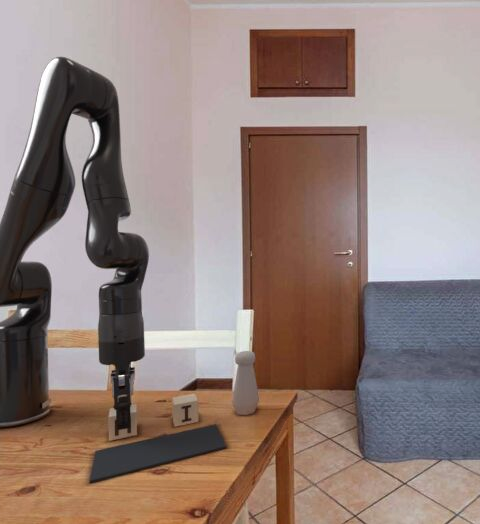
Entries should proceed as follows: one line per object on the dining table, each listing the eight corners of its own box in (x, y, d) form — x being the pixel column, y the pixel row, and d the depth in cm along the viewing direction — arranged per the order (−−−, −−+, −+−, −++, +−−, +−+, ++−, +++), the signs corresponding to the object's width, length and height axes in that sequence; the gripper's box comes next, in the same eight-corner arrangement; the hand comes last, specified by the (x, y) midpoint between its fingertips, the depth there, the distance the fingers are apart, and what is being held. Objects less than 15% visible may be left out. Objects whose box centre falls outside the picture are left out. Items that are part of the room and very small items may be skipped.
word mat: (89, 483, 56) (89, 480, 56) (95, 453, 65) (95, 450, 65) (226, 448, 66) (226, 445, 66) (215, 425, 75) (215, 424, 75)
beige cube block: (174, 427, 74) (174, 404, 74) (172, 418, 78) (172, 397, 78) (198, 422, 76) (198, 400, 76) (195, 413, 80) (195, 393, 80)
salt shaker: (251, 418, 78) (251, 356, 78) (226, 415, 79) (226, 355, 79) (263, 406, 84) (263, 349, 84) (240, 405, 85) (239, 348, 85)
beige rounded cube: (108, 441, 69) (108, 417, 69) (110, 431, 73) (110, 408, 73) (136, 435, 71) (136, 412, 71) (136, 425, 75) (136, 403, 75)
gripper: (101, 332, 76) (104, 411, 76) (94, 345, 63) (97, 440, 64) (143, 327, 79) (146, 403, 80) (144, 340, 67) (147, 429, 67)
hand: (124, 419), depth 72 cm, fingers open, 8 cm apart
